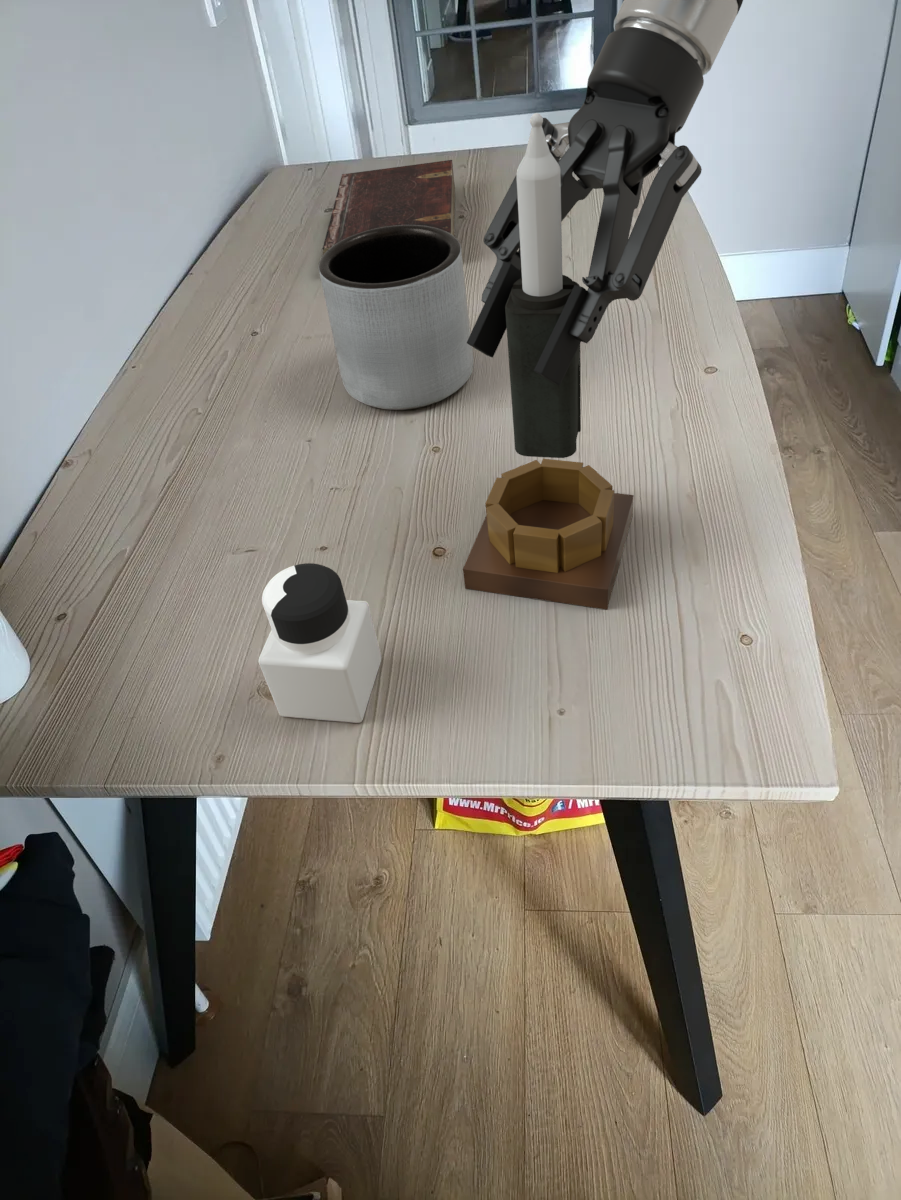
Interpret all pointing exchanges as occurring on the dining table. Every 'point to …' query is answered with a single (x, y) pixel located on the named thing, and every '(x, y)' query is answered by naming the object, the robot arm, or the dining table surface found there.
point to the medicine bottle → (318, 646)
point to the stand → (551, 535)
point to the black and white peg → (540, 311)
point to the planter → (398, 315)
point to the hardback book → (393, 200)
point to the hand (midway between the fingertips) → (512, 363)
